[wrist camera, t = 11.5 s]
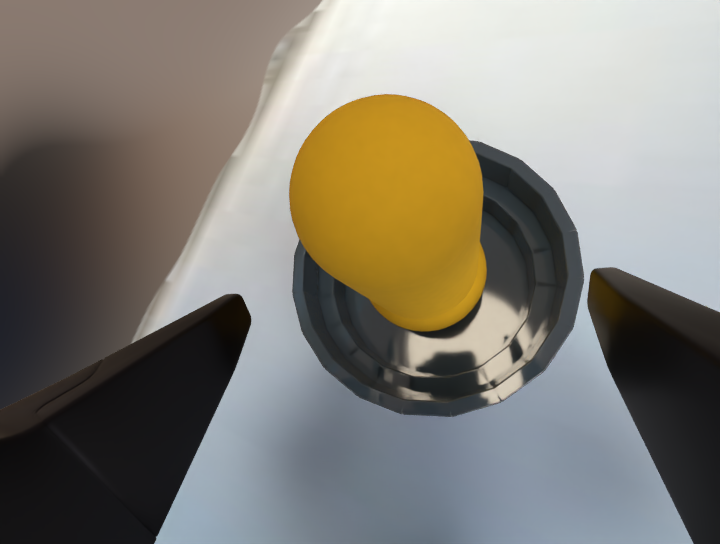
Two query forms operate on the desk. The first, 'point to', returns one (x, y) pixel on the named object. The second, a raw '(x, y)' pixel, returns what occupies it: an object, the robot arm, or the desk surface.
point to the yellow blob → (394, 209)
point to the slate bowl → (479, 327)
